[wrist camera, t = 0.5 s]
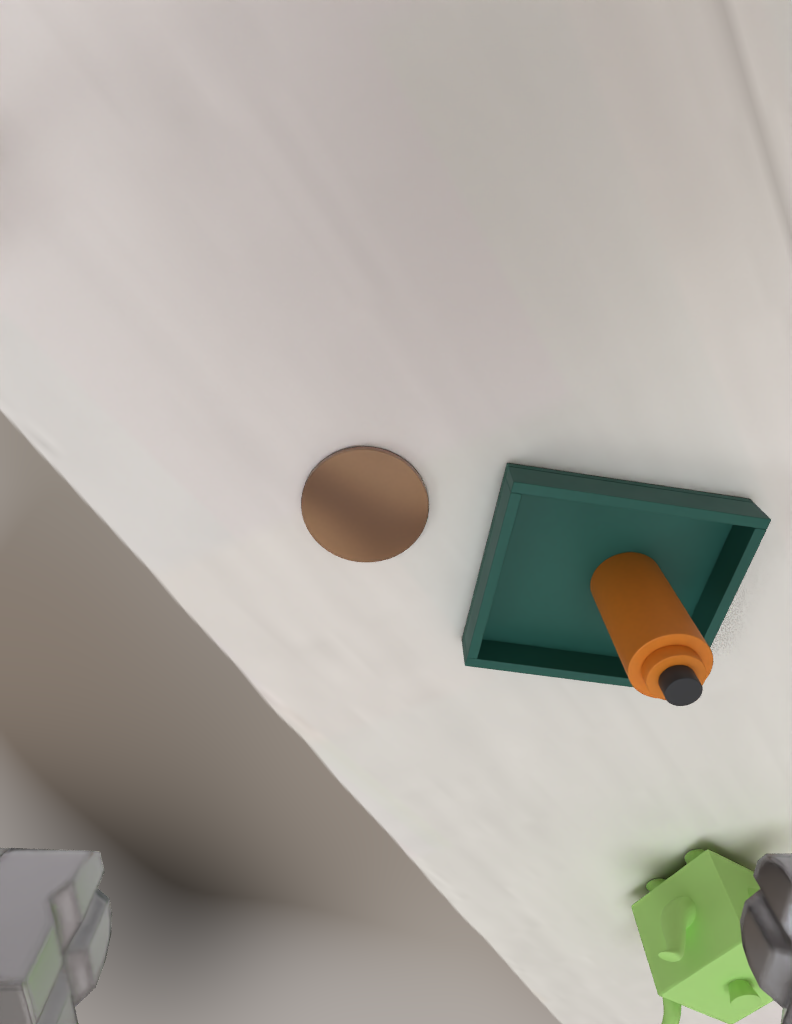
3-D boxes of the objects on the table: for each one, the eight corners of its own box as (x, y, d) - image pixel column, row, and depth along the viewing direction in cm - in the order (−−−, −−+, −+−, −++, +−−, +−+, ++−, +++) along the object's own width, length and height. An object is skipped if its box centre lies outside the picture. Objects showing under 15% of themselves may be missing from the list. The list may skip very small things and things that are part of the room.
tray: (506, 462, 46) (513, 481, 43) (750, 498, 47) (771, 519, 44) (461, 639, 53) (464, 665, 50) (673, 667, 54) (687, 694, 52)
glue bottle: (601, 547, 48) (656, 652, 38) (670, 557, 49) (743, 664, 38) (581, 605, 51) (627, 719, 40) (647, 614, 51) (709, 729, 41)
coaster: (308, 437, 45) (307, 440, 45) (438, 456, 46) (439, 459, 45) (296, 549, 49) (295, 553, 49) (416, 565, 50) (416, 570, 49)
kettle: (626, 931, 71) (662, 1056, 61) (613, 847, 65) (650, 971, 55) (772, 912, 70) (833, 1037, 60) (772, 823, 63) (841, 947, 53)
